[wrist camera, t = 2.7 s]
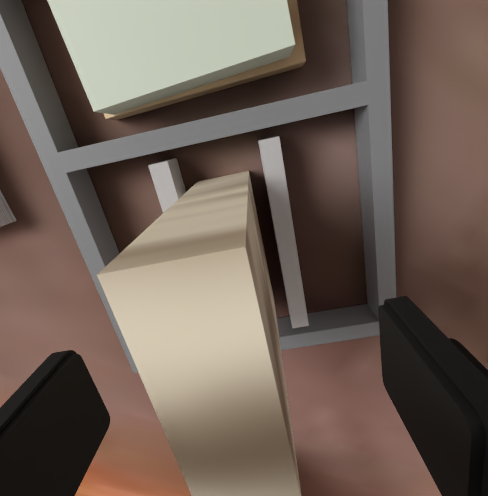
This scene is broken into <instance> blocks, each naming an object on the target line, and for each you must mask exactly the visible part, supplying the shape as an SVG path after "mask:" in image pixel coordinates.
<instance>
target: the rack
mask: <svg viewBox="0 0 488 496" xmlns="http://www.w3.org/2000/svg"><path fill="white" fill-rule="evenodd" d="M347 15H348V29H349V43H350V58H351V72H352V84H350V85H346V86H342V87H337V88H333V89H329V90H324V91H320V92H316V93H311V94H307V95H303V96H299V97H294V98H290V99H286V100H281V101H277V102H273V103H268V104H264V105H260V106H256V107H251V108H247V109H243V110H238V111H234V112H230V113H225V114H221V115H217V116H212V117H208V118H204V119H200V120H195V121H191V122H187V123H182V124H178V125H174V126H169V127H165V128H161V129H157V130H152V131H148V132H144V133H139V134H135V135H131V136H126V137H122V138H118V139H113V140H109V141H105V142H101V143H96V144H92V145H88V146H83V147H79V148H78V145H77V142H76V140H75V137H74V135H73V132H72V130H71V127H70V124H69V122H68V119H67V117H66V114H65V112H64V109H63V106H62V104H61V101H60V99H59V96H58V93H57V91H56V88H55V86H54V83H53V81H52V78H51V75H50V73H49V70H48V68H47V65H46V63H45V60H44V57H43V55H42V52H41V50H40V47H39V44H38V42H37V39H36V37H35V34H34V32H33V29H32V26H31V24H30V21H29V19H28V16H27V14H26V11H25V8H24V6H23V3H22V1H21V0H0V68H1V70H2V73H3V75H4V77H5V80H6V82H7V84H8V87H9V89H10V91H11V93H12V96H13V98H14V100H15V103H16V105H17V107H18V109H19V112H20V114H21V116H22V119H23V121H24V123H25V125H26V128H27V130H28V132H29V135H30V137H31V139H32V141H33V144H34V146H35V148H36V151H37V153H38V155H39V157H40V160H41V162H42V164H43V167H44V169H45V171H46V173H47V176H48V178H49V180H50V183H51V185H52V187H53V189H54V192H55V194H56V196H57V199H58V201H59V203H60V205H61V208H62V210H63V212H64V215H65V217H66V219H67V221H68V224H69V226H70V228H71V231H72V233H73V235H74V237H75V240H76V242H77V244H78V247H79V249H80V251H81V253H82V256H83V258H84V260H85V263H86V265H87V267H88V269H89V272H90V274H91V276H92V279H93V281H94V283H95V285H96V288H97V290H98V292H99V295H100V297H101V299H102V301H103V304H104V306H105V308H106V311H107V313H108V315H109V317H110V320H111V322H112V324H113V327H114V329H115V331H116V333H117V336H118V338H119V340H120V343H121V345H122V347H123V349H124V352H125V354H126V356H127V359H128V361H129V363H130V366H131V368H132V370H133V372H134V373H136V372H138V370H137V367H136V365H135V363H134V360H133V358H132V356H131V353H130V351H129V349H128V346H127V344H126V342H125V339H124V337H123V335H122V332H121V330H120V328H119V325H118V323H117V321H116V318H115V316H114V314H113V311H112V309H111V307H110V304H109V302H108V300H107V297H106V295H105V293H104V290H103V288H102V286H101V283H100V281H99V279H98V276H97V274H98V273H99V272H100V271H101V270H103V269H104V268H105V267H106V266H107V265H108V264H109V263H110V262H111V261H112V260H113V259H114V258H115V257H117V256H118V255H119V254H120V253H119V251H118V248H117V246H116V243H115V240H114V238H113V235H112V233H111V230H110V228H109V225H108V222H107V220H106V217H105V215H104V212H103V210H102V207H101V204H100V202H99V199H98V197H97V194H96V191H95V189H94V186H93V184H92V181H91V179H90V176H89V173H88V171H87V168H90V167H95V166H99V165H104V164H108V163H113V162H117V161H121V160H126V159H130V158H135V157H139V156H144V155H148V154H153V153H157V152H161V151H166V150H170V149H175V148H179V147H184V146H188V145H193V144H197V143H202V142H206V141H210V140H215V139H219V138H224V137H228V136H233V135H237V134H242V133H246V132H250V131H255V130H259V129H264V128H268V127H273V126H277V125H282V124H286V123H291V122H295V121H299V120H304V119H308V118H313V117H317V116H322V115H326V114H331V113H335V112H339V111H344V110H348V109H353V108H354V115H355V130H356V144H357V158H358V173H359V187H360V201H361V216H362V230H363V244H364V259H365V273H366V288H367V302H368V304H362V305H356V306H350V307H344V308H338V309H332V310H325V311H319V312H313V313H307V311H306V304H305V298H304V291H303V285H302V279H301V272H300V266H299V259H298V253H297V247H296V240H295V234H294V227H293V221H292V215H291V208H290V202H289V195H288V189H287V183H286V176H285V170H284V163H283V157H282V151H281V144H280V138H279V136H273V137H269V138H264V139H260V140H258V144H259V150H260V155H261V161H262V166H263V172H264V177H265V183H266V188H267V194H268V199H269V205H270V210H271V216H272V221H273V227H274V232H275V238H276V243H277V249H278V254H279V260H280V266H281V271H282V277H283V282H284V288H285V293H286V299H287V304H288V310H289V314H290V316H289V317H283V318H277V325H278V332H279V339H280V346H281V350H286V349H292V348H299V347H306V346H312V345H319V344H325V343H332V342H338V341H345V340H351V339H358V338H364V337H371V336H377V335H380V330H379V314H378V307H379V306H380V305H384V300H385V299H391V298H396V269H395V235H394V201H393V167H392V133H391V99H390V65H389V31H388V0H347ZM148 167H149V170H150V173H151V176H152V179H153V182H154V186H155V189H156V192H157V195H158V198H159V202H160V205H161V208H162V211H163V213H164V212H165V211H166V210H167V209H168V208H170V207H171V206H172V205H173V204H174V203H175V202H176V201H177V200H178V199H179V198H180V197H181V196H183V195H184V194H185V193H186V190H185V186H184V182H183V179H182V175H181V172H180V168H179V164H178V161H177V158H174V159H169V160H165V161H160V162H157V163H154V164H151V165H148Z"/></svg>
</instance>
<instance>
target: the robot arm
mask: <svg viewBox="0 0 488 496" xmlns="http://www.w3.org/2000/svg"><path fill="white" fill-rule="evenodd" d="M378 314H379V330H380V346H381V361H382V377H383V382H384V386H385V388H386V391H387V393H388V395H389V396H390V398H391V400H392V402H393V404H394V406H395V408H396V410H397V412H398V413H399V415H400V417H401V419H402V421H403V423H404V425H405V427H406V429H407V430H408V432H409V434H410V436H411V438H412V440H413V442H414V444H415V446H416V447H417V449H418V451H419V453H420V455H421V457H422V459H423V461H424V463H425V464H426V466H427V468H428V470H429V472H430V474H431V476H432V478H433V480H434V481H435V483H436V485H437V487H438V489H439V491H440V493H441V495H442V496H488V370H487V369H486V368H485V367H484V366H483V365H482V364H481V363H480V362H479V361H478V360H477V359H476V358H475V357H474V356H473V355H472V354H471V353H470V352H469V351H468V350H467V349H466V348H465V347H464V346H463V345H462V344H461V343H459V342H458V341H457V340H455V339H452V338H450V339H448V338H447V337H446V336H445V335H444V334H443V333H442V332H441V331H440V330H439V328H438V327H437V326H436V325H435V324H434V323H433V322H432V321H431V320H430V319H429V318H428V317H427V316H426V315H425V314H424V313H423V312H422V311H421V310H420V309H419V308H418V307H417V306H416V305H415V304H414V303H413V302H412V301H411V300H410V299H409V298H408V297H407V296H403V297H397V298H391V299H385V300H384V305H380V306H379V307H378ZM109 424H110V416H109V413H108V411H107V409H106V407H105V405H104V403H103V400H102V398H101V396H100V394H99V392H98V390H97V388H96V386H95V384H94V382H93V380H92V378H91V376H90V374H89V372H88V369H87V367H86V365H85V363H84V361H83V359H82V357H81V356H80V355H79V354H77V353H76V352H75V351H73V350H68V351H62V352H56V353H52V354H51V355H50V356H49V357H48V358H47V359H46V360H45V361H44V362H43V363H42V364H41V365H40V366H39V367H38V368H37V369H36V370H35V372H34V373H33V374H32V375H31V376H30V377H29V378H28V379H27V380H26V381H25V382H24V383H23V384H22V385H21V386H20V388H19V389H18V390H17V391H16V392H15V393H14V394H13V395H12V396H11V397H10V398H9V399H8V400H7V401H6V402H5V403H4V405H3V406H2V407H1V408H0V496H75V494H76V492H77V490H78V488H79V486H80V484H81V482H82V480H83V478H84V476H85V474H86V472H87V470H88V468H89V466H90V464H91V462H92V460H93V458H94V456H95V454H96V452H97V450H98V448H99V446H100V444H101V442H102V440H103V438H104V436H105V434H106V432H107V430H108V427H109Z"/></svg>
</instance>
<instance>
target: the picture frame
mask: <svg viewBox="0 0 488 496" xmlns="http://www.w3.org/2000/svg"><path fill="white" fill-rule="evenodd" d="M15 221H17V220H16V218H15V217H14V215H13V213H12V211H11V209H10V207H9V205H8V203H7V202H6V200H5V198H4V196H3V194H2V192H1V190H0V227H1V226H4V225H7V224H9V223H12V222H15Z"/></svg>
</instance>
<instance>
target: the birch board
mask: <svg viewBox="0 0 488 496" xmlns="http://www.w3.org/2000/svg"><path fill="white" fill-rule="evenodd" d="M97 276H98V279H99V281H100V283H101V286H102V288H103V290H104V293H105V295H106V297H107V300H108V302H109V304H110V307H111V309H112V311H113V314H114V316H115V318H116V321H117V323H118V325H119V328H120V330H121V332H122V335H123V337H124V339H125V342H126V344H127V346H128V349H129V351H130V353H131V356H132V358H133V360H134V363H135V365H136V367H137V370H138V372H139V374H140V377H141V379H142V381H143V384H144V386H145V388H146V391H147V393H148V395H149V398H150V400H151V402H152V405H153V407H154V409H155V411H156V414H157V416H158V418H159V421H160V423H161V425H162V428H163V430H164V432H165V435H166V437H167V439H168V442H169V444H170V446H171V449H172V451H173V453H174V456H175V458H176V460H177V463H178V465H179V467H180V470H181V472H182V474H183V477H184V479H185V481H186V484H187V486H188V488H189V491H190V493H191V495H192V496H302V495H301V488H300V481H299V474H298V467H297V460H296V453H295V446H294V438H293V431H292V424H291V417H290V410H289V403H288V396H287V389H286V382H285V374H284V367H283V360H282V353H281V346H280V339H279V332H278V325H277V318H276V310H275V303H274V296H273V290H272V285H271V280H270V275H269V270H268V265H267V260H266V255H265V250H264V245H263V240H262V235H261V230H260V225H259V220H258V214H257V209H256V204H255V199H254V194H253V189H252V184H251V179H250V174H249V171H245V172H240V173H235V174H231V175H226V176H221V177H217V178H212V179H207V180H203V181H198V182H197V183H195V184H194V185H193V186H192V187H191V188H190V189H189V190H188V191H187V192H186V193H185V194H184V195H183V196H181V197H180V198H179V199H178V200H177V201H176V202H175V203H174V204H173V205H172V206H171V207H170V208H168V209H167V210H166V211H165V212H164V213H163V214H162V215H161V216H160V217H159V218H158V219H157V220H155V221H154V222H153V223H152V224H151V225H150V226H149V227H148V228H147V229H146V230H145V231H144V232H143V233H141V234H140V235H139V236H138V237H137V238H136V239H135V240H134V241H133V242H132V243H131V244H130V245H128V246H127V247H126V248H125V249H124V250H123V251H122V252H121V253H120V254H119V255H118V256H117V257H115V258H114V259H113V260H112V261H111V262H110V263H109V264H108V265H107V266H106V267H105V268H104V269H103V270H101V271H100V272H99V273H98V274H97Z"/></svg>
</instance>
